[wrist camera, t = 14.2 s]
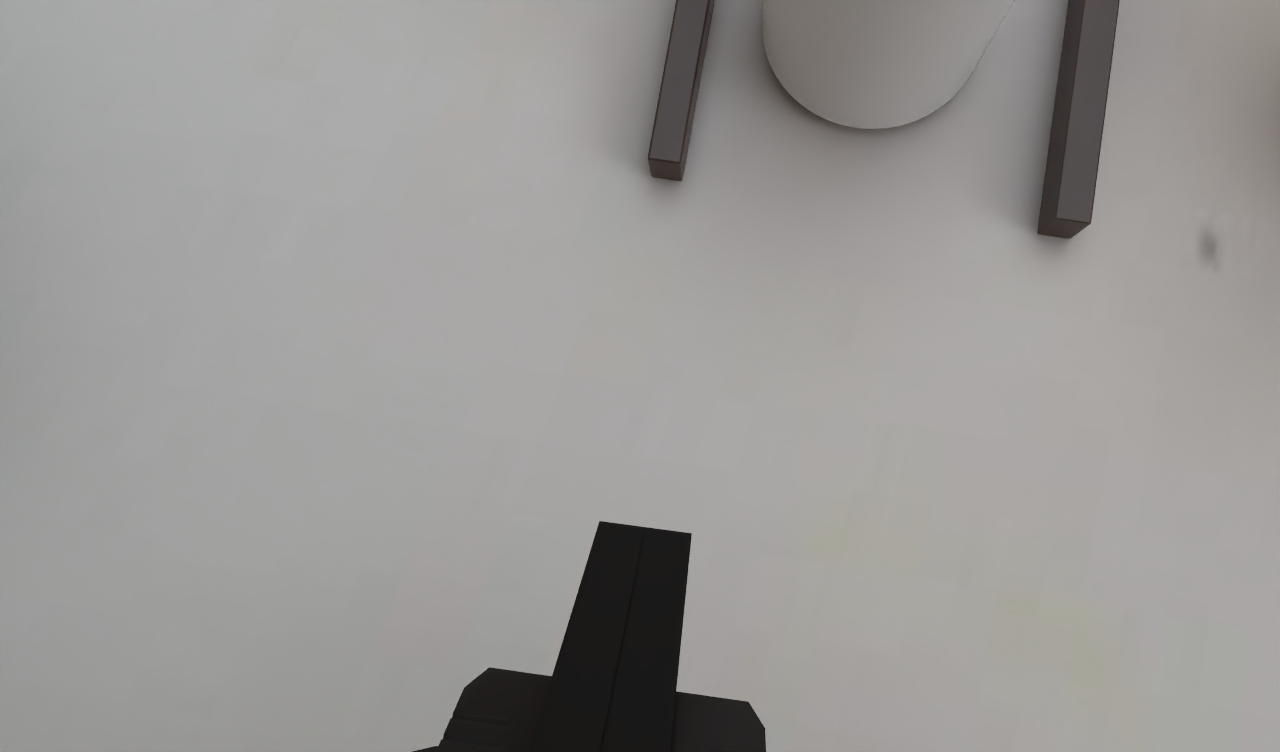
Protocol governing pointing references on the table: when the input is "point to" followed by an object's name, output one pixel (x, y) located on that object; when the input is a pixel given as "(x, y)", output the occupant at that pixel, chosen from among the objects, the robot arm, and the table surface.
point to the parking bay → (1071, 126)
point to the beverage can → (877, 54)
